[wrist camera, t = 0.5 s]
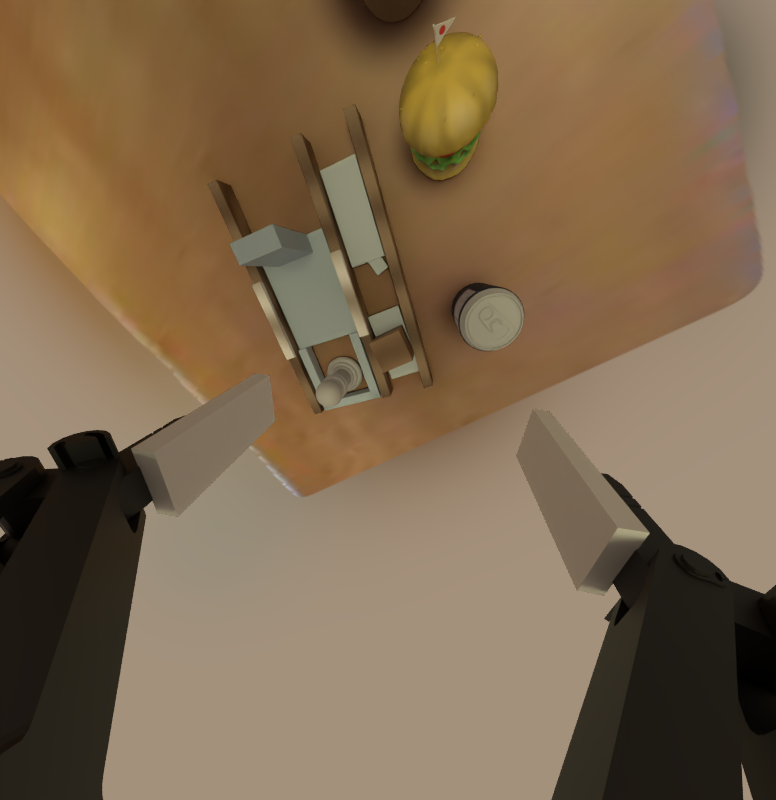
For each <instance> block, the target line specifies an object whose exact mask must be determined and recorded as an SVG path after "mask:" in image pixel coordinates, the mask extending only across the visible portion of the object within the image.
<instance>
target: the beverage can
mask: <svg viewBox="0 0 776 800" xmlns="http://www.w3.org/2000/svg"><path fill="white" fill-rule="evenodd" d="M452 315H453V318H454V321H455V323H456V325H457V327H458V329H459V332H460V334H461V336H462V338H463V339H464V341H465V342H466V343H467V344H468V345H469V346H471V347H473V348H475V349H477V350H481V351H494V350H498V349H501V348H503V347H505V346H507V345H509V344H510V343H511V342H513V341H514V340H515V339H516V337H517V336H518V335H519V333H520V331H521V329H522V326H523V321H524V309H523V305H522V303H521V301H520V299H519V298H518V296H517V295H516V294H514V293H513V292H512V291H510V290H508V289H505V288H502V287H497V286H493V285H488V284H484V283H473V284H470V285H468V286H466V287H464V288H463V289H462V290H460V291H459V293H458V294H457V295H456V297H455V299H454V301H453V304H452Z"/></svg>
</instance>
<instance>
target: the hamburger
mask: <svg viewBox="0 0 776 800" xmlns="http://www.w3.org/2000/svg"><path fill="white" fill-rule="evenodd" d="M455 18H456V17H454V18H452V19H449V20H447V21H445V22H442V23H440V24H437V25H435V24H433V32H434V38H435V41H434V42H432V43H431V44H430V45H427V48H425V49H424V50H423V51H421V54H420V55H419V56H418V58H417V59H416V60H415V62H414V63H413V65H412V66H411V68H410V70H409V72H408V74H407V76H406V79H405V81H404V84H403V87H402V91H401V96H400V104H399V116H400V126H401V129H402V132H403V136H404V139H405V141H406V143H407V144H408V145H409V146H411V152H412V155H413V160H414V162H415V164H416V165H417V166H418V168H419V170H421V171H422V172H423V173H424V174H425V175H426V176H428V177H430V178H431V179H433V180H444V179H446V178H451V177H452V176H455V175H457V174H459V173H460V172H461V171H462V169H463V168H465V167H466V165H467V163H468V162H469V160H470V159H471V157H472V155H473V153H474V151H475V149H476V147H477V144H478V138H479V135H480V132H481V129H482V128H483V126H484V125H485V124H486V123H487V121H488V120H489V118H490V115H491V113H492V111H493V109H494V107H495V104H496V98H497V91H498V71H497V65H496V62H495V59H494V56H493V54H492V52H491V50H490V48H489V47H488V45H487V44H486V43H485V42H484V41H483V40H481V39H480V38H481V34H480V35H479V36H478V37H477V36H475V35H473V34H470V33H466V32H456V33H451V34H448V35H445V34H446V32H447V30H448V29H449V27H450V26H451V24H452V23H453V21H454V19H455ZM444 35H445V36H444Z"/></svg>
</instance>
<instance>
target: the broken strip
mask: <svg viewBox="0 0 776 800" xmlns="http://www.w3.org/2000/svg"><path fill="white" fill-rule="evenodd" d="M320 173H321V176H322V179H323V182H324V185H325V188H326V191H327V194H328V197H329V200H330V203H331V206H332V209H333V212H334V215H335V218H336V221H337V224H338V227H339V230H340V233H341V236H342V239H343V242H344V245H345V248H346V251H347V254H348V257H349V260H350V262H351V265H352V268H355V267H358V266H361V265H363V264H366V263H369V264H370V265H371V267H372V268H373V270H374V271H375V272H376V274H377V275H378V276H379V275H380V274H381V273H383V272H384V271H385V270H386V269H387V268H388V267H389V266H388V265H387V263H386V262H385V260H384V259H383V257H384V256H386V255H385V252H384V248H383V245H382V241H381V238H380V234H379V231H378V227H377V224H376V220H375V217H374V214H373V210H372V207H371V203H370V200H369V196H368V193H367V189H366V186H365V182H364V179H363V176H362V172H361V169H360V165H359V162H358V158H357V156H356V155H355V154H353V155H351V156H349V157H347V158H345V159H343V160H341V161H339V162H337V163H335V164H333V165H331V166H329V167H327V168H325V169H323V170H321V171H320ZM368 319H369V322H370V324H371V327H372V329H373V332H374V334H375V337H376V336H378V335H381V334H383V333H385V332H387V331H389V330H391V329H393V328H395V327H398V326H400V325H403V327H404V330H405V332H406V334H407V336H408V339H409V341H410V338H409V334H408V331H407V328H406V324H405V321H404V318H403V315H402V312H401V309H400V306H399V305H397V306H394V307H392V308H389V309H387V310H384V311H382V312H379V313H376V314H374V315H371V316H369V317H368ZM410 343H411V341H410ZM417 371H419V369H418V366H417V362H416V359H415V355H414V357H413V361H411V362H408V363H406V364H404V365H401V366H399V367H397V368H394V369H392V370H389V373H390V375H391V378H392V379H394V378H397V377H401V376H404V375H407V374H410V373H413V372H417Z"/></svg>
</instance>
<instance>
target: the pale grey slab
mask: <svg viewBox="0 0 776 800" xmlns="http://www.w3.org/2000/svg"><path fill="white" fill-rule="evenodd" d="M230 246H231V248H232V250H233V252H234V254H235V256H236V259H237V261H238V263H239V265H240V266H263V268H264V270H265V272H266V274H267V277H268V279H269V281H270V283H271V286H272V288H273V290H274V292H275V295H276V297H277V299H278V301H279V304H280V306H281V308H282V310H283V313H284V315H285V317H286V319H287V322H288V324H289V326H290V328H291V330H292V333H293V335H294V337H295V339H296V342H297V344H298V346H299V348H300V350H299V354H300V356H301V358H302V360H303V363H304V365H305V367H306V369H307V371H308V374H309V376H310V378H311V380H312V383H313V385H314V387H315V389H317V387H318V385H319V384H320V383H322V382H323V380H324V379H325V377H324V375H323V373H322V370H321V368H320V366H319V363H318V361H317V359H316V356H315V354H314V352H313V349H312V347H311V346H313V345H316V344H320V343H323V342H326V341H329V340H332V339H336V338H339V337H342V336H345V335H348V334H349V336H350V339H351V342H352V344H353V347H354V350H355V353H356V355H357V358H358V361H359V363H360V366H361V369H362V371H363V374H364V377H365V380H366V382H367V385H368V388H366V389H362V390H358V391H354V392H351V393H347V394H345V395H344V396H343V397H342V399H341V401H340V402H339V403H338V404H337V405H335V406H332V407H326V406H323V407H324V409H325V411H326V410H330V409H334V408H338V407H342V406H346V405H350V404H354V403H359V402H363V401H367V400H371V399H375V398H379V397H381V395H382V394H381V392H380V389H379V386H378V383H377V380H376V378H375V375H374V372H373V369H372V366H371V363H370V361H369V358H368V355H367V352H366V349H365V347H364V344H363V341H362V338H361V337H359V334H358V331H357V329H356V326H355V323H354V320H353V317H352V315H351V312H350V309H349V306H348V303H347V301H346V298H345V295H344V292H343V289H342V287H341V284H340V281H339V278H338V275H337V273H336V270H335V267H334V264H333V261H332V259H331V256H330V253H331V251H330V248H329V245H328V242H327V239H326V237H325V234H324V231H323V228H320V229H318V230H316V231H313V232H311V233H309V234H304V233H300V232H297V231H294V230H290V229H287V228H284V227H280V226H277V225H274V224H271V225H269V226H267V227H265V228H263V229H261V230H258V231H256V232H254V233H252V234H250V235H248V236H245V237H243V238H241V239H239V240H237V241H235V242H232V243H230Z"/></svg>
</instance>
